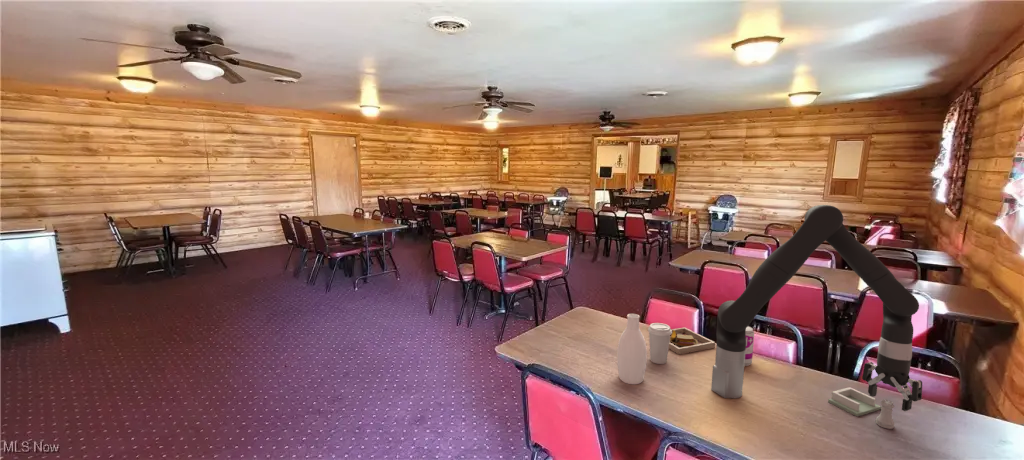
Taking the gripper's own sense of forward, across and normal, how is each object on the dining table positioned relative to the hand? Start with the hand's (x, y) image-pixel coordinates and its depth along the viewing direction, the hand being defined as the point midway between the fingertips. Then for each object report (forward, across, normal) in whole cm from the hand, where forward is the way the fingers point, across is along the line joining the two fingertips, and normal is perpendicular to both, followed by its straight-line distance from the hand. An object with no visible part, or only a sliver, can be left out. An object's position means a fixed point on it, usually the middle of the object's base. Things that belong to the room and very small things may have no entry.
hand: (888, 402), depth 129 cm
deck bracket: (+8, -11, +3) cm, 13 cm away
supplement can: (+7, -48, -6) cm, 49 cm away
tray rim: (+7, -72, -15) cm, 74 cm away
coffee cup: (+7, -61, -37) cm, 72 cm away
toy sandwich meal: (+7, -72, -14) cm, 73 cm away
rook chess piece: (+8, 0, 0) cm, 8 cm away
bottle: (+7, -52, -57) cm, 78 cm away
